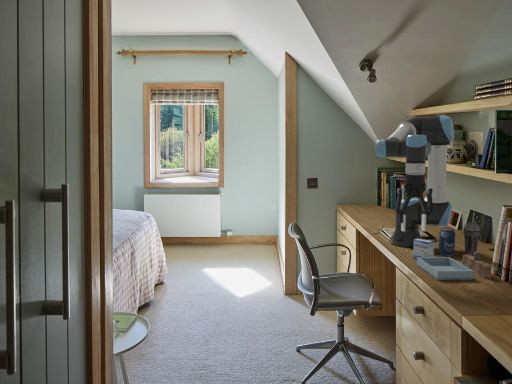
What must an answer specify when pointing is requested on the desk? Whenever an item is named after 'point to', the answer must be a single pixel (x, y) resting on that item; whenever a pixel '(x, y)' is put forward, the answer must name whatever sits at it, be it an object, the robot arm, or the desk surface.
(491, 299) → the desk surface
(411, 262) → the desk surface
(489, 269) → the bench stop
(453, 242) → the soda can
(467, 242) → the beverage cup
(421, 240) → the medicine box
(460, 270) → the tray
